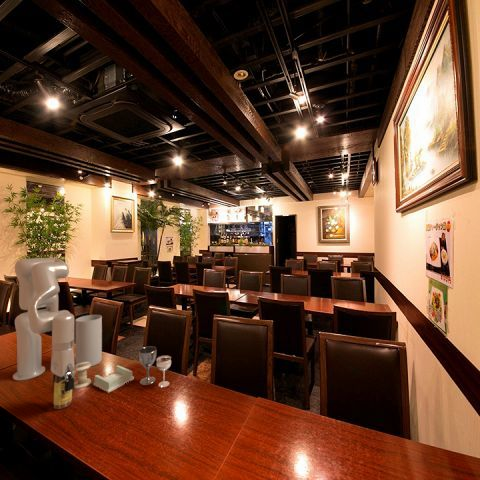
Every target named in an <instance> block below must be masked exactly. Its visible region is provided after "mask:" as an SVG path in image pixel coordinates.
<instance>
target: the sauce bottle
mask: <svg viewBox="0 0 480 480" xmlns="http://www.w3.org/2000/svg"><path fill="white" fill-rule="evenodd" d="M69 372H70V371H69ZM66 373H68V372H66ZM54 375H55V381H54V385H53V408H54V409H55V410H63V409H65V408H67V407H68V406H70V405H71V403H72V399H73V389H71V390H69V391H67V392H65V381H66V380H65V377H64V376H63V377H60V376H58V375H56V374H54ZM69 376H70V374H69V375H67V377H69Z"/></svg>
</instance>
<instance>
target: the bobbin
mask: <svg viewBox="0 0 480 480" xmlns="http://www.w3.org/2000/svg"><path fill="white" fill-rule="evenodd" d="M90 368H91V363H90V362H82V363H79V364H76V363H75V364H74V369H75V371H76V372H77V380H76V381H74V388H73V389H85V388H86V387H88V386H90V385H91V383H92V380H91V378H87V377H88V369H90Z"/></svg>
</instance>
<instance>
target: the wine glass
mask: <svg viewBox="0 0 480 480" xmlns="http://www.w3.org/2000/svg"><path fill="white" fill-rule="evenodd" d="M138 358H139V361H140V364H141V365H142V366H143V367H144V368H145V369H146V377H144V378H142V379H140V380H139V384H140V385H143V386H147V385H152V384H154V382H156V380H157V379H156V377H154V376H150V373H149V372H150V368H151V367H152V365H153V364H154V363H155V361H156V359H157V347H156V346H152V345H151V346H145V347H144V346H143V347H141V348H140V349H138Z"/></svg>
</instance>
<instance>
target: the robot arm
mask: <svg viewBox="0 0 480 480" xmlns="http://www.w3.org/2000/svg"><path fill="white" fill-rule="evenodd" d="M14 274H15V276H16V278H17V280H18V283H19V287H18V288H19V292H18V297H19V298H18V305H19V308H20V310H22V311H23V310H24V311H26V312H23V313H20V314H19V315H17V316H16V317H15V319H14V326H15V327H14V328H15V332H16V345H17V347H16V352H17V354H16V356H17V357H16V358H17V359H16V372H14V374H13V375H12V380H14V381H26V380H31V379H33V378H36V377H38V376H40V375H42V374H44V372H45V371H46V367H45V366H44V365H42V336H41V334H43V333H47V332H51V346H52V347H51V359H50V372H51V373H52V380H53V381H52V384H53V386H54V381H55V374H56V375H58V376H60V377H63V376H64V377H65V380H66V381H65V392H67V391H69V390H71V389H72V390H73V389H75V388H74V383H75V377H76V373H77V371H75V369H74V366H75V353H74V348H75V316H74V314H73V313H71V312H70V311H69V310H66V309H63V310H59V293H60V286H59V283H58V280H60V279H66V278H67V277H68V276H69V274H70V269H69V266H68V264H67V263H66V262H65V261H63V260H62V259H60V258H57V257H41V258H39V257H35V258H34V257H32V258H23V259H20V260H17V261H16V262H15V263H14ZM41 308H43V309H41ZM69 371H70V372H69ZM66 372H68V373H66ZM69 374H70V376H69V377H67V375H69Z"/></svg>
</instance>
